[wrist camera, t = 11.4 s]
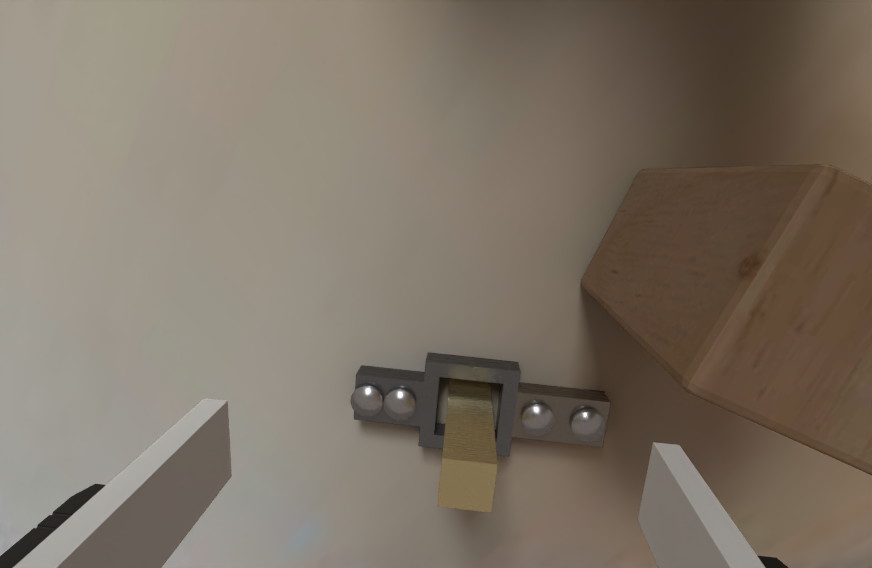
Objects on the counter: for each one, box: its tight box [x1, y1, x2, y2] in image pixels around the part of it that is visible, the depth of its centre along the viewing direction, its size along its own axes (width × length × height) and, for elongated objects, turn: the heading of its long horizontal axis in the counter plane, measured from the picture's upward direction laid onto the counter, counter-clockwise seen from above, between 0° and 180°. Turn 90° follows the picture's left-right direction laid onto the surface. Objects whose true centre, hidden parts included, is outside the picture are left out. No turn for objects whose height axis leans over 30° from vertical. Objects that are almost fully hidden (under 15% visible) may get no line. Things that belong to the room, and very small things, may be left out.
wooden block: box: [581, 164, 872, 475], centre depth 28 cm, size 10×10×20 cm
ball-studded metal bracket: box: [351, 353, 611, 456], centre depth 41 cm, size 8×21×3 cm, turn 85°
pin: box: [437, 379, 498, 513], centre depth 36 cm, size 3×3×12 cm
